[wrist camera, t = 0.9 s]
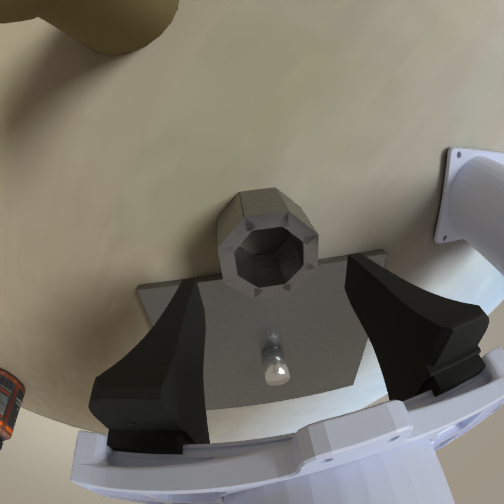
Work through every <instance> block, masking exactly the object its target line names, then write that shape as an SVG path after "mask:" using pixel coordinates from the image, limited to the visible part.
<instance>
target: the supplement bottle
mask: <svg viewBox="0 0 504 504" xmlns="http://www.w3.org/2000/svg"><path fill="white" fill-rule="evenodd" d="M24 394H25V389H24V387H23V386H22V384H21V383H20V382H19V381H18V380H17V379H16V378H15V377H14V376H12V375H11V374H9V373H8V372H6V371H4V370H2V369H0V450H1V448H2V445H3V443H2V442H3V441H4V440H8V439H10V438H11V436H12V433H13V429H14V426H15V422H16V419H17V415H18V412H19V409H20V406H21V403H22V400H23V397H24Z"/></svg>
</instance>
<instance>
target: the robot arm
mask: <svg viewBox="0 0 504 504" xmlns="http://www.w3.org/2000/svg"><path fill="white" fill-rule="evenodd" d="M457 153H458V155H457ZM462 239H464V240H465V241H466V242H468V243H469V244H470V245H471V246H472V247H473V248H475V249H476V250H477V251H478V252H479V253H480V254H481V255H482V256H483V257H485V258H486V259H487V260H488V261H489V262H490V263H491V264H492V265H493V266H494V267H495V268H496V269H497V270H498V271H499V272H500V273H501V274H502V275H503V276H504V153H502V152H495V151H487V150H479V149H470V148H460V147H451V148H449V150H448V154H447V164H446V173H445V181H444V188H443V195H442V201H441V207H440V212H439V218H438V223H437V228H436V232H435V237H434V240H435V242H436V243H438V244H441V243H446V242H451V241H456V240H462ZM344 289H345V291H346V294H347V297H348V299H349V302H350V304H351V306H352V308H353V310H354V312H355V314H356V315H357V317H358V319H359V321H360V323H361V324H362V326H363V328H364V330H365V332H366V334H367V336H368V337H369V339H370V341H371V344H372V346H373V348H374V351H375V354H376V356H377V359H378V362H379V365H380V368H381V371H382V374H383V377H384V381H385V384H386V388H387V392H388V396H389V400H390V401H386V402H383V403H380V404H377V405H374V406H371V407H368V408H365V409H361V410H358V411H355V412H351V413H348V414H344V415H341V416H337V417H333V418H329V419H325V420H321V421H318V422H315V423H312V424H309V425H307V426H305V427H303V428H301V429H300V430H298V431H297V432H296V433H291V434H286V435H280V436H274V437H268V438H261V439H254V440H246V441H236V442H226V443H212V444H210V440H209V433H208V426H207V417H206V407H205V396H204V381H203V365H204V350H205V335H206V322H205V309H204V306H203V302H202V299H201V295H200V291H199V288H198V284H197V280H196V278H191V279H184V280H182V282H181V283H180V285H179V287H178V289H177V290H176V292H175V294H174V296H173V297H172V299H171V301H170V302H169V304H168V306H167V307H166V309H165V310H164V312H163V313H162V315H161V316H160V318H159V319H158V321H157V322H156V323H155V325H154V326H153V327H152V329H151V330H150V331H149V332H148V334H147V335H146V336H145V337H144V338H143V339H142V340H141V341H140V342H139V343H138V344H137V345H136V346H135V347H134V348H133V349H132V350H131V351H130V352H129V353H128V354H127V355H126V356H125V357H124V358H122V359H121V360H120V361H119V362H117V363H116V364H115V365H114V366H112V367H111V368H109V369H108V370H106V371H105V372H104V373H102V374H101V375H99V376H98V377H96V379H95V382H94V385H93V388H92V393H91V397H90V401H89V406H88V407H89V409H90V411H91V413H92V414H93V415H94V416H95V417H96V418H97V419H98V420H99V421H100V422H101V423H102V424H104V425H105V426H106V427H107V428H108V429H109V432H108V436H107V435H104V434H101V433H95V432H88V431H78V436H77V441H76V447H75V452H74V459H73V465H72V472H71V482H73V483H75V484H77V485H79V486H81V487H83V488H86V489H88V490H90V491H92V492H95V493H97V494H99V495H102V496H105V497H110V498H115V499H120V500H126V501H132V502H138V503H145V504H455V503H454V500H453V497H452V494H451V492H450V489H449V486H448V483H447V481H446V478H445V476H444V473H443V470H442V468H441V465H440V463H439V460H438V458H437V455H436V453H435V451H436V450H438V449H440V448H441V447H443V446H445V445H446V444H448V443H450V442H451V441H453V440H454V439H456V438H457V437H459V436H461V435H462V434H463V433H465V432H466V431H468V430H470V429H471V428H473V427H474V426H476V425H477V424H478V423H480V422H481V421H483V420H484V419H485V418H487V417H488V416H490V415H491V414H492V413H494V412H495V411H496V410H497V409H499V408H500V407H501V406H502V405H503V404H504V352H503V350H502V349H501V348H500V347H497V348H496V349H494V350H492V351H491V352H489V353H487V354H486V355H484V356H483V357H482V358H481V357H480V356H479V353H480V352H481V350H480V348H479V347H478V344H479V342H480V340H481V339H482V337H483V335H484V333H485V332H486V329H487V327H488V324H489V318H488V316H487V315H486V314H485V312H484V311H483V310H482V309H481V307H480V306H478V305H473V304H468V303H462V302H458V301H455V300H451V299H447V298H444V297H441V296H438V295H436V294H433V293H430V292H428V291H425V290H423V289H421V288H419V287H417V286H415V285H413V284H411V283H409V282H407V281H405V280H403V279H401V278H400V277H398V276H396V275H395V274H393V273H391V272H390V271H388V270H386V269H385V268H383V267H382V266H380V265H378V264H377V263H375V262H374V261H372V260H370V259H369V258H367V257H366V256H364V255H362V254H360V253H356V254H350V255H348V260H347V269H346V278H345V287H344Z"/></svg>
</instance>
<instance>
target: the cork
mask: <svg viewBox="0 0 504 504" xmlns="http://www.w3.org/2000/svg"><path fill="white" fill-rule="evenodd" d="M178 2H179V0H0V23H11V22H18V21H24V20H30V19H34V18H36V17H39V18H41V19H43V20H45V21H46V22H48V23H50V24H52V25H53V26H55V27H57V28H58V29H60V30H62V31H63V32H65V33H67V34H68V35H70V36H72V37H73V38H75V39H76V40H78V41H80V42H81V43H83V44H84V45H86V46H87V47H89V48H91V49H93V50H95V51H97V52H98V53H101V54H109V55H118V54H124V53H130V52H133V51H135V50H137V49H139V48H142V47H144V46H146V45H148V44H149V43H150V42H152V41H153V40H154V39H156V38H157V37H159V36H160V35H161V34H162V33H163V31H164V30H165V29H166V28H167V27H168V26H169V24H170V23H171V22H172V20H173V18H174V15H175V13H176V11H177V9H178Z"/></svg>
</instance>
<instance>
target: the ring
mask: <svg viewBox="0 0 504 504" xmlns="http://www.w3.org/2000/svg"><path fill="white" fill-rule="evenodd" d="M275 227H284V228H285V229H287V230H288V231H289V232H290V236H289V237H288V238H287V239H286V240H285V241H284V242H283V243H282V244H281V245H280V246H279V247H278V248H277V249H276V251H275V252H268V253H261V254H254V255H252V254H250V253H249V252H247V251H246V250H244V249H242V248H241V247H239V246H240V244H241V243H242V242H243V241H244V240H245V239H246V237H247V236H248V235H249V234H250V233H251V232H252V231H253V230H260V229H268V228H275ZM217 250H218V256H219V261H220V266H221V271H222V276H223V281H224V283H225V284H227V285H229V286H231V287H233V288H234V289H236V290H238V291H240V292H242V293H243V294H245V295H247V296H249V297H251V298H252V299H262V298H268V297H275V296H281V295H287V294H291V293H293V292H294V291H295V290H296V289H297V288H298V287H299V286H300V285H301V284H302V283H303V282H304V281H305V280H306V279H307V278H308V277H309V276H310V275H311V274H312V273H313V272H314V271H315V270H316V269H317V268H318V233H317V232H316V230H315V229H314V227H313V225H312V224H311V222H310V221H309V219H308V218H307V216H306V215H305V213H304V212H303V210H302V209H301V207H299V206H298V205H297V204H296V203H294V202H293V201H292V200H291V199H289V198H288V197H287V196H286V195H284V194H283V193H282V192H280V191H279V190H278V189H277V188H267V189H259V190H251V191H244V192H240V193H238V194H237V195H236V196H235V198H234V199H233V200H232V201H231V203H230V204H229V205H228V206H227V207H226V209H225V210H224V211H223V212H222V214H221V215H220V216H219V217H218V219H217Z"/></svg>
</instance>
